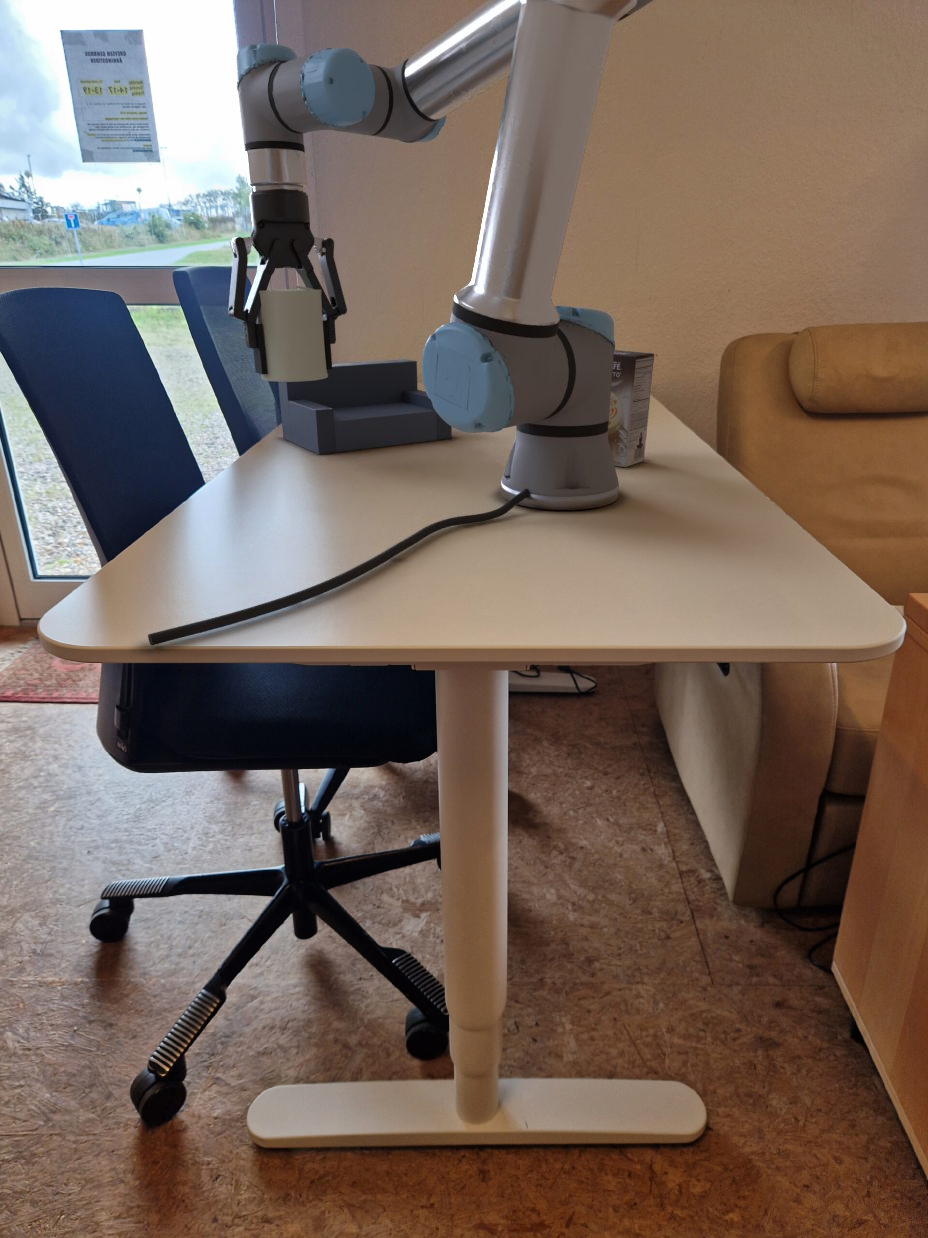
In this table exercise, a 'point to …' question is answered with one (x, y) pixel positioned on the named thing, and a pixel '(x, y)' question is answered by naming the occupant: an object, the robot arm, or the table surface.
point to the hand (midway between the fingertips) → (294, 370)
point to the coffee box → (629, 406)
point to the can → (293, 334)
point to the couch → (360, 408)
